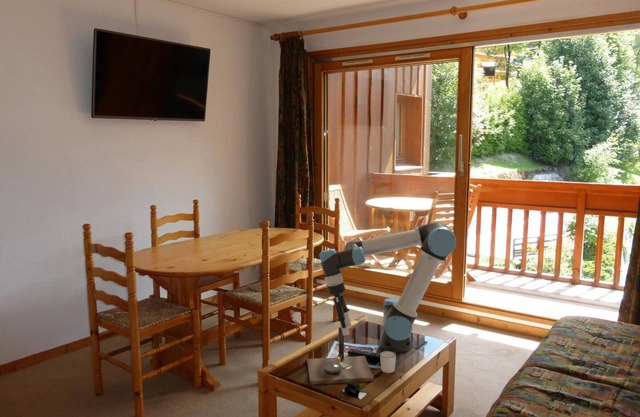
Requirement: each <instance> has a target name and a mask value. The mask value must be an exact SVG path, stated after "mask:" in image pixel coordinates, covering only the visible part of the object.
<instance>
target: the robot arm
mask: <svg viewBox="0 0 640 417" xmlns="http://www.w3.org/2000/svg"><path fill="white" fill-rule="evenodd" d="M418 246H419V247H420V248H419V249H420V253H421V255H420V257H419V259H418V261H417V263H416V265H415V267H414V268H413V270H412V273H411V275H410V277H409V278H408V281H407V282H406V285H405V286H404V289H403V291H402V292H401V295H400V296H399V297H397V298H396V297H391V298H390V297H389V298H386V299H384V300H383V305H382V306H383V313H382V314H383V320H382V321H383V322H382V323H383V325H382V326H383V330H382V333H381V335H380V337H379V338H380V339H379V348H381V349H382V350H384V351H391V352H394V353H395V354H396V353H398V354H399V353H405V352H408V351H410V350H411V349H412V347H413V346H412V345H413V343H412V340H411V334H412V332H413V326H414V323H415V321H416V319H417V317H418V313H417V309H418V307H419V305H420V304H421V301H422V299H423V298H424V295H425V294H426V292H427V290H428V288H429V285H430V283H431V281H432V280H433V277H434V276H435V274H436V271H437V270H438V269H439V266H440V264H441V263H445V262H446V260H447V258H448V256H449V255H451V254H452V253H453V251H454V250H455V249H456V246H457V238H456V234H455V233H454V231H452V229H451V228H449V226H448V225H446V224H445V223H443V222H439V221H438V222H437V221H435V222H431V223H430V222H429V223H427V224H423V225H418V226H416V227H415V228H414V229H410V230H406V231H405V230H404V231H402V232H396V233H392V234H387V235H383V236H382V235H381V236H377V237H373V238H369V239H368V238H367V239H364V240H359V241H355V240H350V241H349V242H347V243H345V245H344V249H343V250H341V251H336V249H335V248H329V249H326V250H322V251H320V253H319V260H320V265H321V269H322V272H323V275H324V280H323V281H324V282H325V283H326V285H327V291H328V294H329V295H330V296H333V295H334V298H333V300H334V304H335V309H336V314H337V322H339V325H340V327H341V329H342V333H343V336H344V337H345V336H348V335H350V331H349V327H352V323H351V319H350V315H349V312H350V310H349V309H350V308H348V305H347V304H346V300H345V297H344V294H343V292H346V286H345V283H344V278H343V274H342V271H341V269H345V268H351V267H354V266H359V265H361V264H364V263H366V257H369V256H374V255H378V254H383V253H388V252H393V251H399V250H403V249H407V248H412V247H418Z"/></svg>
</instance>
